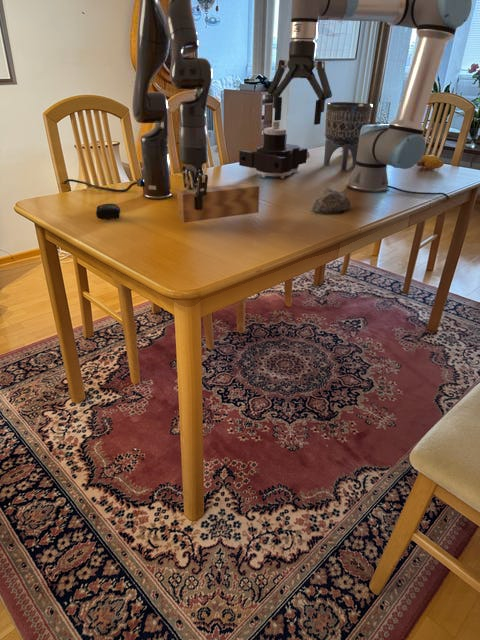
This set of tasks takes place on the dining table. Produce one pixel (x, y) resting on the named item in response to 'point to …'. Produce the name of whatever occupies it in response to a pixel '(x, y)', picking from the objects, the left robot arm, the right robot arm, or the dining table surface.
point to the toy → (430, 162)
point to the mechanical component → (274, 154)
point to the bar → (219, 202)
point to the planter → (345, 128)
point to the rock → (331, 202)
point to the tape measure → (108, 211)
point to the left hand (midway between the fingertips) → (195, 206)
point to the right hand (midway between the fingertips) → (296, 122)
